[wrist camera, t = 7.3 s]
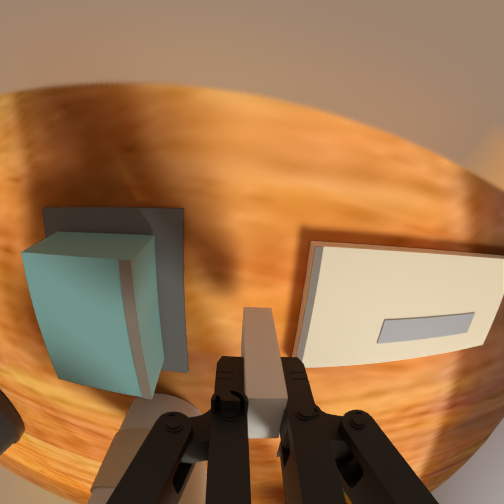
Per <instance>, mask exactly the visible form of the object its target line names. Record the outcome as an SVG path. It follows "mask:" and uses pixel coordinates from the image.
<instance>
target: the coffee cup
mask: <svg viewBox="0 0 504 504" xmlns="http://www.w3.org/2000/svg"><path fill="white" fill-rule="evenodd" d="M172 411H175V412H181V413H183V414H185V415H187V416H188V417H194V416H199V415H202V414H201V412H200V411H199V410H198V409H197V408H196V407H195V406H193V405H192V404H190V403H189V402H187V401H185V400H183V399H181V398H178V397H175V396H172V395H167V394H160V393H154V395H153V398H152V400H151V399H144V398H143V397H139V396H138V397H137V398H135V399H134V400H133V402H132V404H131V406H130V408H129V410H128V412H127V414H126V416H125V419H124V421H123V423H122V425H121V427H120V429H119V432H117V433H116V435H115V436H114V438H113V441H112V443H111V445H110V447H109V449H108V451H107V454H106V456H105V458H104V460H103V462H102V465H101V467H100V469H99V471H98V474H97V476H96V478H95V480H94V483H93V485H92V487H91V490H90V491H91V493H92V494H91V497H90V499H89V502H88V504H106V503H107V501H108V499H109V498H110V496H111V494H112V493H113V491H114V490H115V488H116V486H117V485H118V483H119V481H120V480H121V478H122V476H123V475H124V473H125V471H126V470H127V468H128V467H129V465H130V463H131V462H132V460H133V458H134V457H135V455H136V453H137V452H138V450H139V448H140V447H141V445H142V443H143V442H144V440H145V439H146V437H147V435H148V434H149V432H150V430H151V429H152V427H153V425H154V424H155V422H156V420H157V419H158V418H159V417H160V416H161V415H162V414H164V413H166V412H172ZM206 482H207V481H206V461H201V462H196V464H195V466H194V469H193V471H192V473H191V476H190V478H189V480H188V482H187V485H186V487H185V489H184V492H183V494H182V496H181V498H180V501H179V503H178V504H205V499H206Z"/></svg>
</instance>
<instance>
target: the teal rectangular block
mask: <svg viewBox="0 0 504 504" xmlns="http://www.w3.org/2000/svg"><path fill="white" fill-rule="evenodd" d="M21 254H22V259H23V265H24V270H25V274H26V279H27V283H28V288H29V292H30V296H31V300H32V304H33V307H34V311H35V314H36V318H37V321H38V324H39V327H40V331H41V334H42V337H43V340H44V342H45V345H46V348H47V351H48V354H49V356H50V359H51V361H52V364H53V366H54V369H55V371H56V374H57V376H58V378H59V379H62V380H66V381H69V382H73V383H77V384H81V385H85V386H89V387H93V388H98V389H102V390H107V391H112V392H117V393H122V394H127V395H133V396H139V397H143V398H144V399H151V400H152V398H153V395H154V391H155V388H156V384H157V381H158V378H159V374H160V371H161V368H162V365H163V361H164V352H163V344H162V335H161V326H160V316H159V305H158V293H157V279H156V261H155V236H154V235H134V234H110V233H83V232H56V233H54V234H52V235H50V236H49V237H47V238H45V239H43V240H41V241H40V242H38V243H36V244H34V245H33V246H31V247H29V248H27V249H26V250H24V251H22V252H21Z"/></svg>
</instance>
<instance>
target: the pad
mask: <svg viewBox="0 0 504 504" xmlns="http://www.w3.org/2000/svg"><path fill="white" fill-rule="evenodd" d="M43 216H44V226H45V235H46V238H47V237H49V236H50V235H52V234H54V233H56V232H83V233H110V234H134V235H154V236H155V261H156V279H157V293H158V305H159V316H160V326H161V335H162V344H163V352H164V361H163V365H162V368H161V370H164V371H173V372H184V373H188V372H189V367H188V354H187V339H186V321H185V298H184V253H183V223H184V208H153V207H45V208H43Z"/></svg>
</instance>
